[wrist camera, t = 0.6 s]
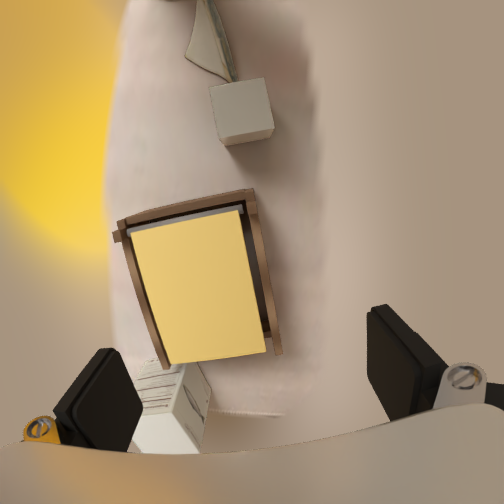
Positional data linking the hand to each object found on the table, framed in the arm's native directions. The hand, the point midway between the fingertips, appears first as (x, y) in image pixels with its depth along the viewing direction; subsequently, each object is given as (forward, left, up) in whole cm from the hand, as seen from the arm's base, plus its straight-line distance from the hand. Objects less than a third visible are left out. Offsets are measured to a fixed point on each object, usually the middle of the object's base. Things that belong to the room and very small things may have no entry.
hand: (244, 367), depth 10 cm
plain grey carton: (-13, +2, -25) cm, 28 cm away
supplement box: (+17, -13, -25) cm, 33 cm away
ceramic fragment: (-24, +1, -26) cm, 35 cm away
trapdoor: (+3, -5, -18) cm, 19 cm away
